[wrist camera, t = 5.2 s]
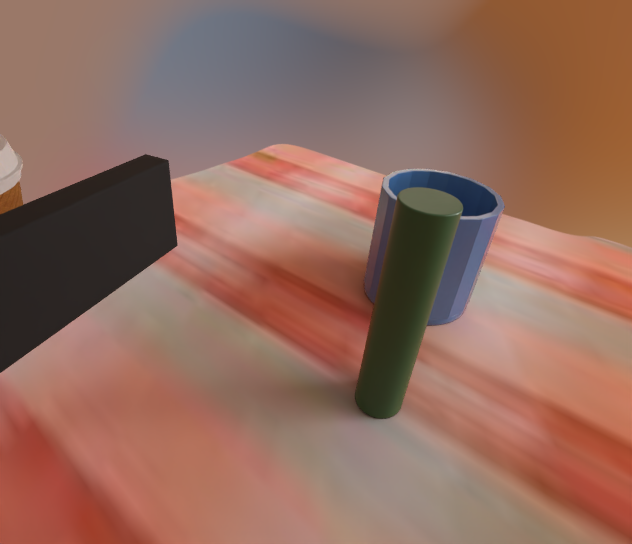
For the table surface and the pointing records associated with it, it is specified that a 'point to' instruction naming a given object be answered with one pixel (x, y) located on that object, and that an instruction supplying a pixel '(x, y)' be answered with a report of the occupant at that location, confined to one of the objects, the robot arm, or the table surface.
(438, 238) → the stick
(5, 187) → the disposable coffee cup
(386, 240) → the tumbler
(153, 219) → the robot arm
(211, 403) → the table surface
